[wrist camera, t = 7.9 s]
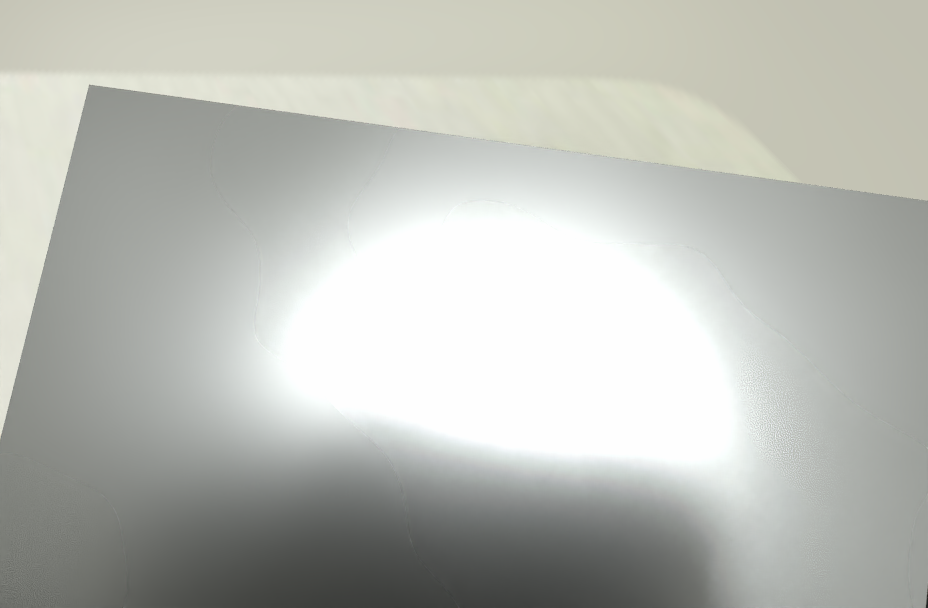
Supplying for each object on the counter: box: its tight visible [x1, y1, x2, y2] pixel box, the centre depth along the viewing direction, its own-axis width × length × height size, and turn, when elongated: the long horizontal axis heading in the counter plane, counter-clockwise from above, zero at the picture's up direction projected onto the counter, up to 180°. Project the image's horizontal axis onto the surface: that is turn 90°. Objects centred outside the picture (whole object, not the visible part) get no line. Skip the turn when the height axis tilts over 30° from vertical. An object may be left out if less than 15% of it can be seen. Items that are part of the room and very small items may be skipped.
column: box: [0, 85, 928, 608], centre depth 9 cm, size 4×4×12 cm
